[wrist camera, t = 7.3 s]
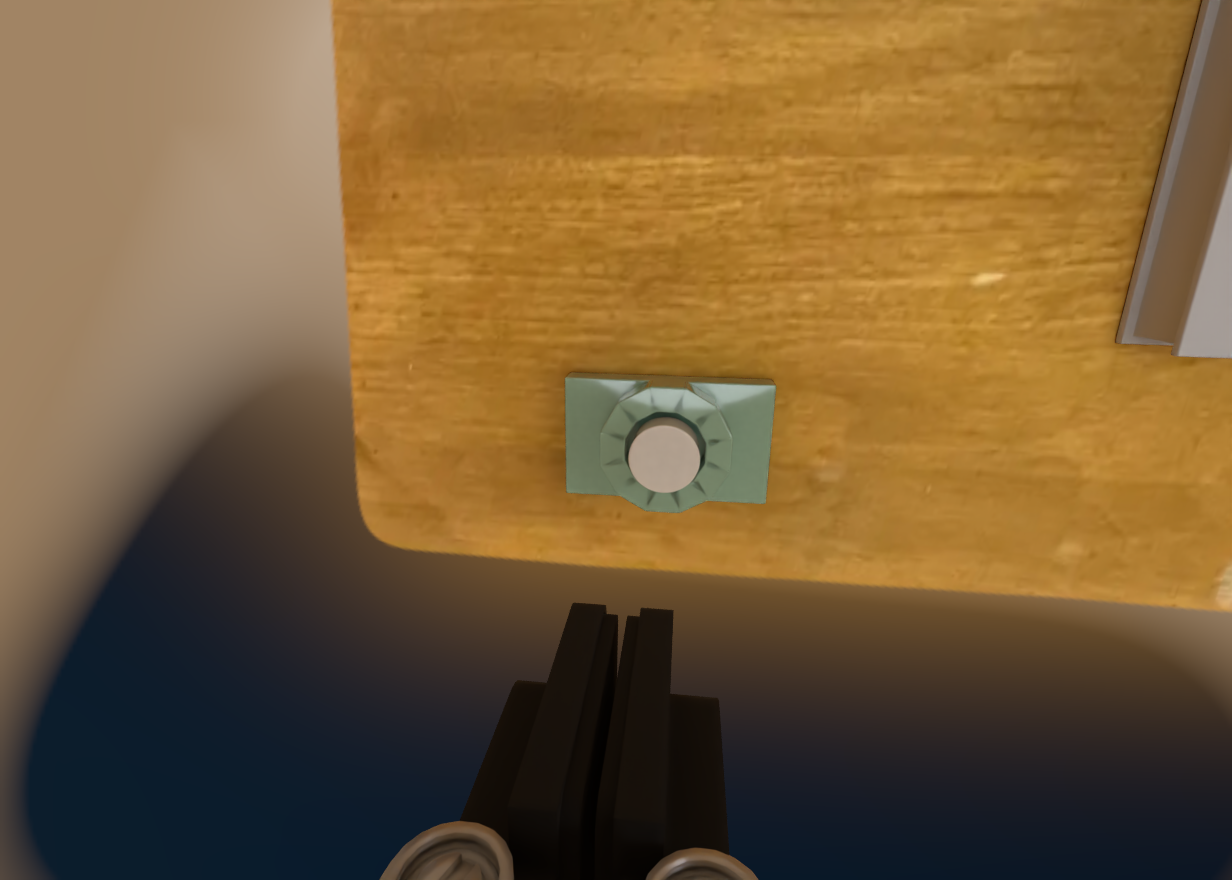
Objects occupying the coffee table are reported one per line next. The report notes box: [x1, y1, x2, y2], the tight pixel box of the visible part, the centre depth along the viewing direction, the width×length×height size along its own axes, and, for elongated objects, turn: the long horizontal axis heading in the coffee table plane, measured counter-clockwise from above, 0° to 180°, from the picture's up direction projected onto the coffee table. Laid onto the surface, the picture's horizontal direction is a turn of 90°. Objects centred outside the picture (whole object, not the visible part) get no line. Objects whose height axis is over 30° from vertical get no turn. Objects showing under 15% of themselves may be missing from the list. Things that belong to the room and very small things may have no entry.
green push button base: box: [565, 372, 776, 513], centre depth 30 cm, size 10×6×3 cm, turn 89°
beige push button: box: [628, 417, 700, 493], centre depth 29 cm, size 3×3×2 cm
